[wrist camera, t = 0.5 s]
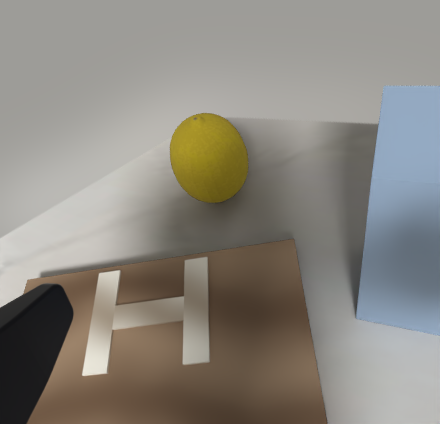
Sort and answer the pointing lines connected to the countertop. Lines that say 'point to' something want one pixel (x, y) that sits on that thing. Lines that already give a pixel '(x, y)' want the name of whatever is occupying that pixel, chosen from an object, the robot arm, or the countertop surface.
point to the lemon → (209, 157)
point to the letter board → (187, 343)
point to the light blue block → (404, 214)
